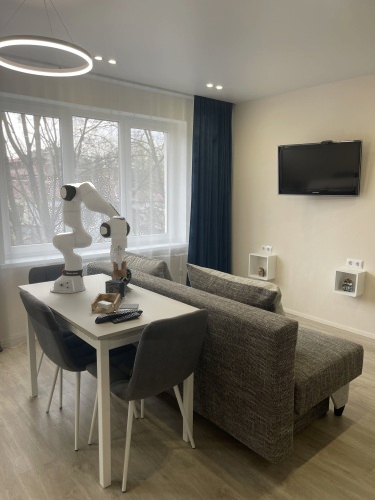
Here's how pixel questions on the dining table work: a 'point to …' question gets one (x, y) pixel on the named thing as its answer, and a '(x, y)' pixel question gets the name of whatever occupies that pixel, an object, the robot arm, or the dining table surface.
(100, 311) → the wooden tray
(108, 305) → the offcut top
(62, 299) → the dining table surface
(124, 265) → the wooden block
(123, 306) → the pad
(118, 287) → the small box
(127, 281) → the alarm clock
